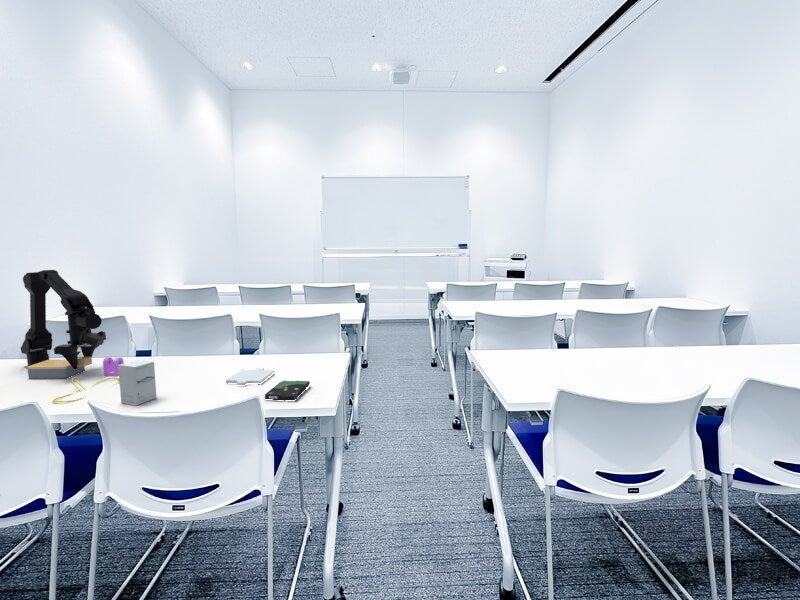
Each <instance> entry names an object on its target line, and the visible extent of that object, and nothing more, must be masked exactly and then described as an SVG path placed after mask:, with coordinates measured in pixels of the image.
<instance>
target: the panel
mask: <svg viewBox="0 0 800 600" xmlns="http://www.w3.org/2000/svg"><path fill="white" fill-rule="evenodd" d="M85 367H86V366H80V367H77V369H73V367H69V368H67V369H27V376H28V380H67V378H68V379H70V378H72V377H75V376H77V375H79V374H78V373H80V374H82V373H84V372H83V371H85V372H86V368H85ZM81 372H82V373H81ZM76 374H77V375H76ZM74 375H75V376H74ZM71 376H72V377H71ZM69 377H70V378H69Z"/></svg>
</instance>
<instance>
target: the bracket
mask: <svg viewBox="0 0 800 600" xmlns="http://www.w3.org/2000/svg"><path fill="white" fill-rule="evenodd" d="M124 363H125V361H124V358H123V357H115V358H114V359H113V357H104V359H103V362H102V367H103V368H102V369H103V377H119V370H118V365H121V364H124Z"/></svg>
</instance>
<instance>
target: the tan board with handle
mask: <svg viewBox="0 0 800 600" xmlns="http://www.w3.org/2000/svg"><path fill="white" fill-rule="evenodd" d="M77 359H78V366H77V367H80V366H85V367H87V366H90V365H92V364H93V362H92V361H93V356H92V357H84V356H77ZM27 366H28V365H27ZM69 367H72V366H71V365H70V363H69V362H68V361H67V360H66V359H49V360H46V361H43V362H40V363H37V364H34V365H31V366H28V367H26V368H25V369H26V370H28V369H67V368H69Z"/></svg>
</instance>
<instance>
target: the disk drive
mask: <svg viewBox="0 0 800 600" xmlns="http://www.w3.org/2000/svg"><path fill="white" fill-rule="evenodd" d="M309 384H310V381H309V380H284V379H283V380H281V381H280V382H278V383H277V384H276V385H275V386H274V387H273V388H271V389H270V390H269V391H267V392H266V393H265V394H264V400H265V399H273V400H295V399H297V397H298V396H299V395H300V394H301V393H302V392H303V391H304V390H305V389H306V387H308V385H309Z"/></svg>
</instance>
